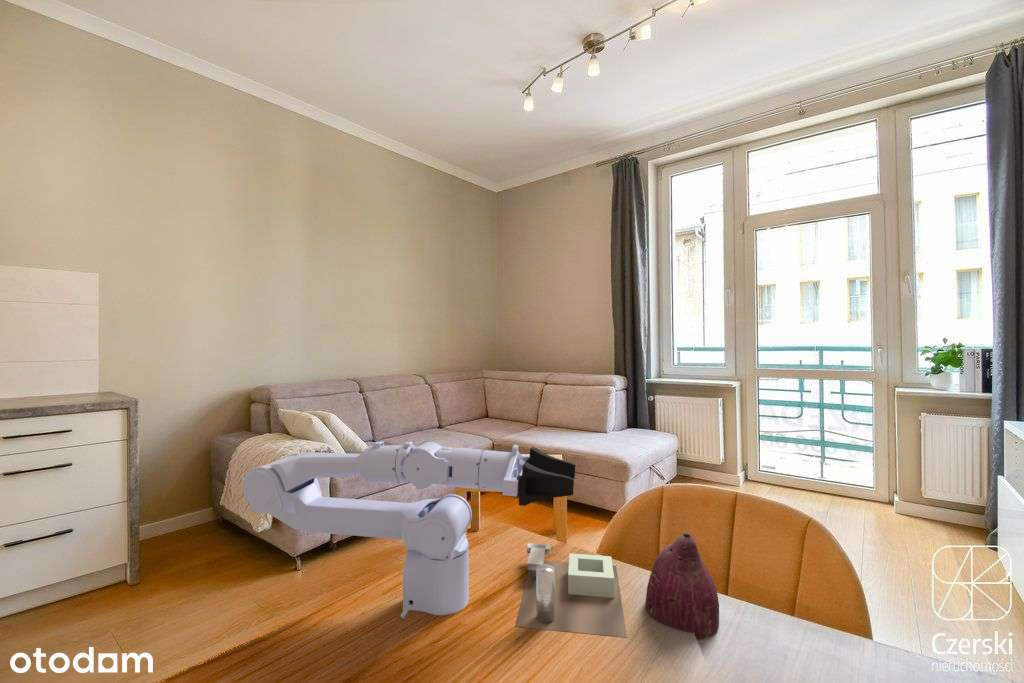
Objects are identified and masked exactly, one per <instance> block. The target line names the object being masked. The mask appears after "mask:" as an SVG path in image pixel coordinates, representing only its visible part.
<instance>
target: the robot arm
mask: <svg viewBox="0 0 1024 683" xmlns="http://www.w3.org/2000/svg"><path fill="white" fill-rule="evenodd" d="M519 450H520V449H519V444H513V445H512V448H511V451H510V452H508V451H499V450H489V449H478V448H477V449H476V448H467V447H451V446H444V445H442V443H440V442H438V441H433V440H429V439H426V440H424V441H422V442H420V443H419V444H418V445H417V446H415V445H414V442H413V441H406V442H404V443H403V444H391V445H385V442H384V441H376V442H374V443H372V445H369V446H366V447H365V449H363V451H361V453H353V452H352V453H350V452H349V453H347V452H316V451H314V452H313V451H306V452H301V453H299V452H297V453H295V452H294V453H291V454H288V455H287V456H285V457H283V458H280V459H278V460H275V461H273V462H270V463H267V464H265V465H261V466H255V467H253V468H251V469H250V470H249V471H247V473H246V474H245V475H244V478H243V480H242V494H243V496H244V499H246V501H247V503H248V505H249V506H250V508H251V509H252V511H253V513H255V514H256V513H257V514H265V515H270V516H272V517H273V518H275V519H277V520H278V521H281V522H282V523H283V524H285V525H286V526H289V527H290V528H292V529H293V530H296V531H299V532H307V533H321V534H332V535H333V534H334V535H343V536H345V535H346V536H356V537H367V538H368V537H370V538H377V539H378V538H379V539H381V538H382V539H392V540H402V541H403V544H404V547H405V548H406V550H407V552H406V554H405V557H404V562H403V569H402V612H401V614H400V618H401V619H405V617H406V615H407V614H408V612H409V611H418V612H424V613H427V614H431V615H435V616H447V615H448V616H449V615H452V614H455V613H458V612H460V611H462V610H463V609H464V608H465V607H467V605H468V604H469V601H470V599H469V597H470V596H469V592H470V591H469V586H470V585H469V581H470V580H469V579H470V578H469V571H470V570H469V569H470V568H469V541H468V538H467V536H466V530H467V529H468V528H469V526H470V524H471V522H472V519H473V518H472V517H473V512H472V508H471V505H470V504H469V502H468V501H467V500H466V498H464V497H463V496H462V495H461V496H460V495H458V494H454V493H451V494H446V495H444V496H442V497H439V498H426V499H422V500H418V501H415V502H400V501H386V500H371V499H361V498H360V499H358V498H357V499H356V498H341V497H329V496H322V495H323V493H322V490H321V486H320V484H319V480H318V479H319V478H321V479H322V478H334V477H335V478H336V477H355V476H358V477H359V478H360V479H361V480H362V482H364V483H366V484H406V483H409V484H410V485H412V486H414V487H415V488H416V490H424V489H427V488H429V487H430V486H432V485H434V484H435V485H441V486H449V487H456V488H466V489H475V490H483V491H491V492H493V491H494V492H500V493H501V492H502V496H510V497H518V505H519V506H520V507H524V506H527V505H530V504H533V503H535V502H538V501H541V500H546V499H552V498H555V499H556V498H562V497H563V498H564V497H569V496H573V495H574V483H575V477H576V464H575V463H573V462H571V461H567V460H565V459H564V460H563V459H561V458H557V457H555V456H552V455H549V454H547V453H545V452H543V451H542V450H540V449H538V447H535V446H531V447H530V449H529V454H521V453H520V452H519ZM518 494H519V496H518Z"/></svg>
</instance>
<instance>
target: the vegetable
mask: <svg viewBox="0 0 1024 683" xmlns="http://www.w3.org/2000/svg"><path fill="white" fill-rule="evenodd" d="M699 552H700V551H699V550H698V546H697V543H696V541H695V539H694V537H693V536H692V535H691V534H689V532H687V531H685V532H684V533H682V534H680V535H679V536H678V537H677V538H676V539H674V540H673V541H672V542H671V543H669V544H667V545H666V546H665V547H664V548H663V549H661V550H660V552H659V553H658V555H657V556H656V558H655V561H654V563H653V567H652V570H651V573H650V576H649V577H648V578H649V579H648V583H647V586H646V593H645V594H646V595H645V611H646V614H647V615H648V616H649V617H651V619H652V620H654V622H657V623H660V624H662V625H664V626H666V627H668V628H671V629H674V630H678V631H680V632H685V633H692V634H694V636H695V639H696V640H697V641H699V640H704V639H707V638H709V637H712V636H714V635H716V634H717V633H718V632H719V628H720V627H719V626H720V604H719V602H720V601H719V595H718V591H717V587H716V584H715V581H714V578H713V577H712V575H711V574H710V571H709V570H708V567H707V566H706V564H705V563H704V561H703V559H702V558H701V555H700V553H699Z"/></svg>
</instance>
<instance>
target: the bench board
mask: <svg viewBox="0 0 1024 683" xmlns="http://www.w3.org/2000/svg"><path fill="white" fill-rule="evenodd" d="M550 553H551V544H546V543H545V544H544V543H529V542H527V544H526V554H529V555H528V560H527V565H526V566H527V570H528V571H527V575H526V580H525V582H524V589H523V592H522V595H521V601H520V604H519V609H518V613H517V617H516V622H515V625H514V627H515V628H523V629H531V630H532V629H533V630H534V629H536V630H544V631H554V632H565V633H572V634H574V633H575V634H583V635H585V634H586V635H595V636H603V637H604V636H606V637H614V638H615V637H617V638H623V639H626V638H627V639H628V634H627V628H626V622H625V615H624V607H623V602H622V596H621V595H622V594H621V590H620V583H619V576H618V570H617V565H613V573H614V598H609V597H598V596H586V595H574V594H568V570H569V561H556V560H555V561H554V560H545V556H546V555H550ZM541 564H549V565H552V566H553V567H554V568H555V620H554V621H553V622H552V623H549V624H543V623H540V622H539V621H538V620H537V617H536V567H537V566H538V565H541Z"/></svg>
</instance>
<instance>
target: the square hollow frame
mask: <svg viewBox="0 0 1024 683" xmlns="http://www.w3.org/2000/svg"><path fill="white" fill-rule="evenodd" d="M568 554H569V556H568V562H569V570H568V594H574V595H586V596H598V597H609V598H614V573H613V566H614V565H613V560H612V556H609V555H598V554H595V555H594V554H582V553H568Z"/></svg>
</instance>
